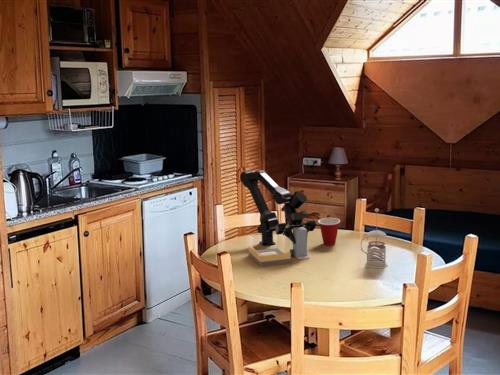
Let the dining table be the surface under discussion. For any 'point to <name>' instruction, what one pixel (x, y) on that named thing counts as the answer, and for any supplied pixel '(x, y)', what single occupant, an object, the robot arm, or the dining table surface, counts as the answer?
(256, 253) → the wooden frame
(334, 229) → the plastic cup
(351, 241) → the dining table surface
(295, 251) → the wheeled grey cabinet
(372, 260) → the french press
